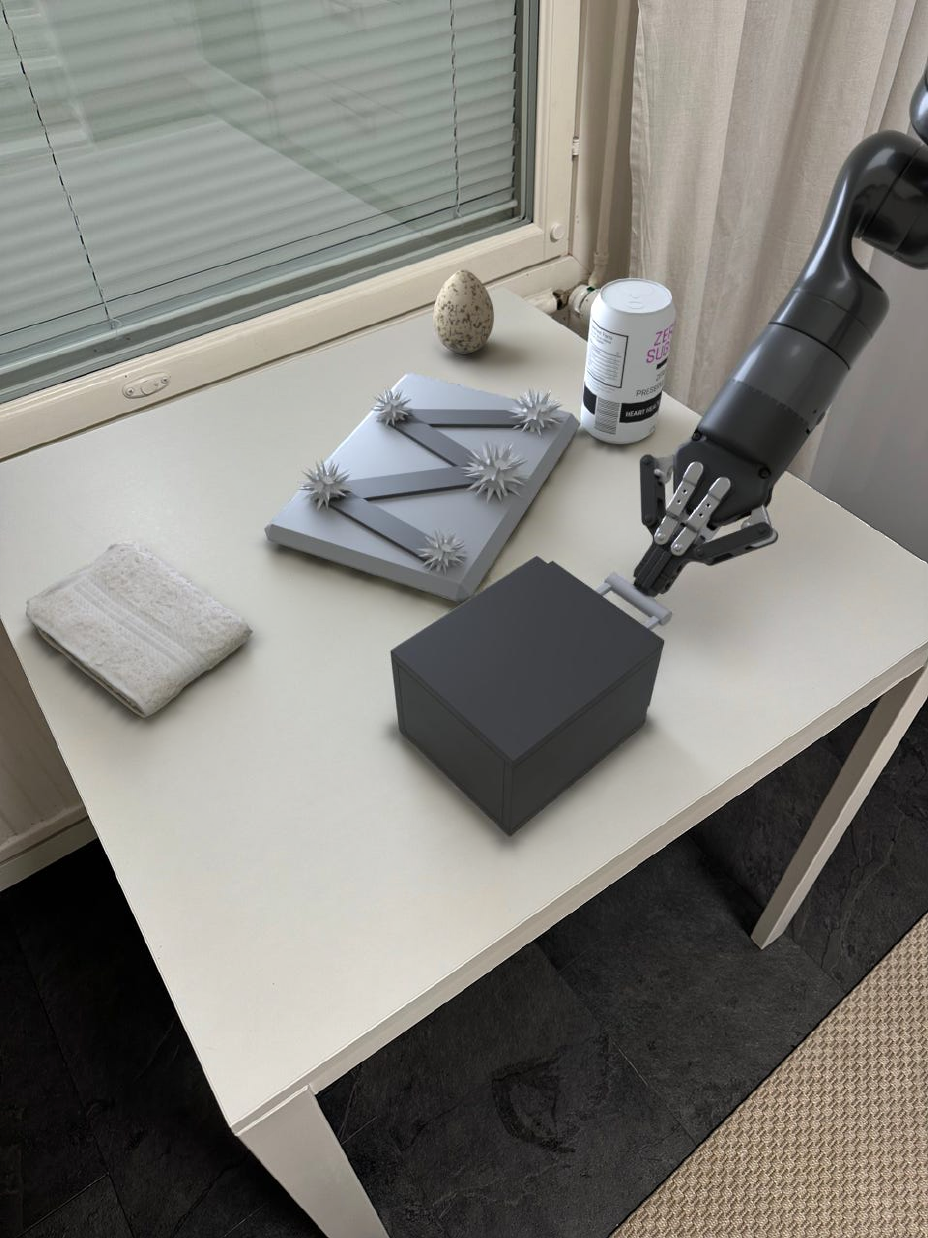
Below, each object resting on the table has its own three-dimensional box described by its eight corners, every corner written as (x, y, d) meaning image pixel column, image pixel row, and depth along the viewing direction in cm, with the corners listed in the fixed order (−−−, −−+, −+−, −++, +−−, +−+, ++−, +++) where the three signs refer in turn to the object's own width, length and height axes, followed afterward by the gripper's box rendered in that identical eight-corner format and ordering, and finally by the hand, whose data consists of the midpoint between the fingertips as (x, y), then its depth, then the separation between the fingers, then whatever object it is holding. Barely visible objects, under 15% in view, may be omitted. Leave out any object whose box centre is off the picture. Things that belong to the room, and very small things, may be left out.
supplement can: (581, 401, 100) (594, 273, 89) (655, 406, 100) (677, 277, 89) (577, 444, 95) (591, 313, 84) (656, 450, 94) (679, 318, 83)
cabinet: (531, 636, 76) (536, 554, 69) (644, 725, 70) (662, 645, 63) (398, 730, 70) (389, 650, 63) (509, 837, 63) (513, 762, 56)
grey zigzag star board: (406, 385, 103) (402, 329, 98) (582, 430, 97) (588, 372, 91) (260, 546, 85) (246, 487, 79) (466, 614, 78) (465, 555, 73)
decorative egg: (445, 331, 111) (442, 252, 104) (500, 339, 110) (501, 260, 102) (427, 361, 107) (423, 281, 99) (484, 369, 105) (484, 289, 98)
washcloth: (130, 552, 84) (121, 527, 82) (261, 638, 77) (254, 614, 74) (20, 625, 78) (6, 601, 76) (150, 728, 70) (139, 704, 68)
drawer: (586, 598, 78) (594, 532, 72) (689, 673, 72) (707, 607, 67) (425, 712, 70) (420, 646, 64) (527, 806, 64) (531, 744, 58)
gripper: (686, 348, 68) (563, 541, 72) (838, 423, 61) (693, 631, 65) (716, 383, 74) (601, 558, 78) (857, 454, 67) (724, 643, 71)
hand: (644, 591), depth 71 cm, fingers closed
